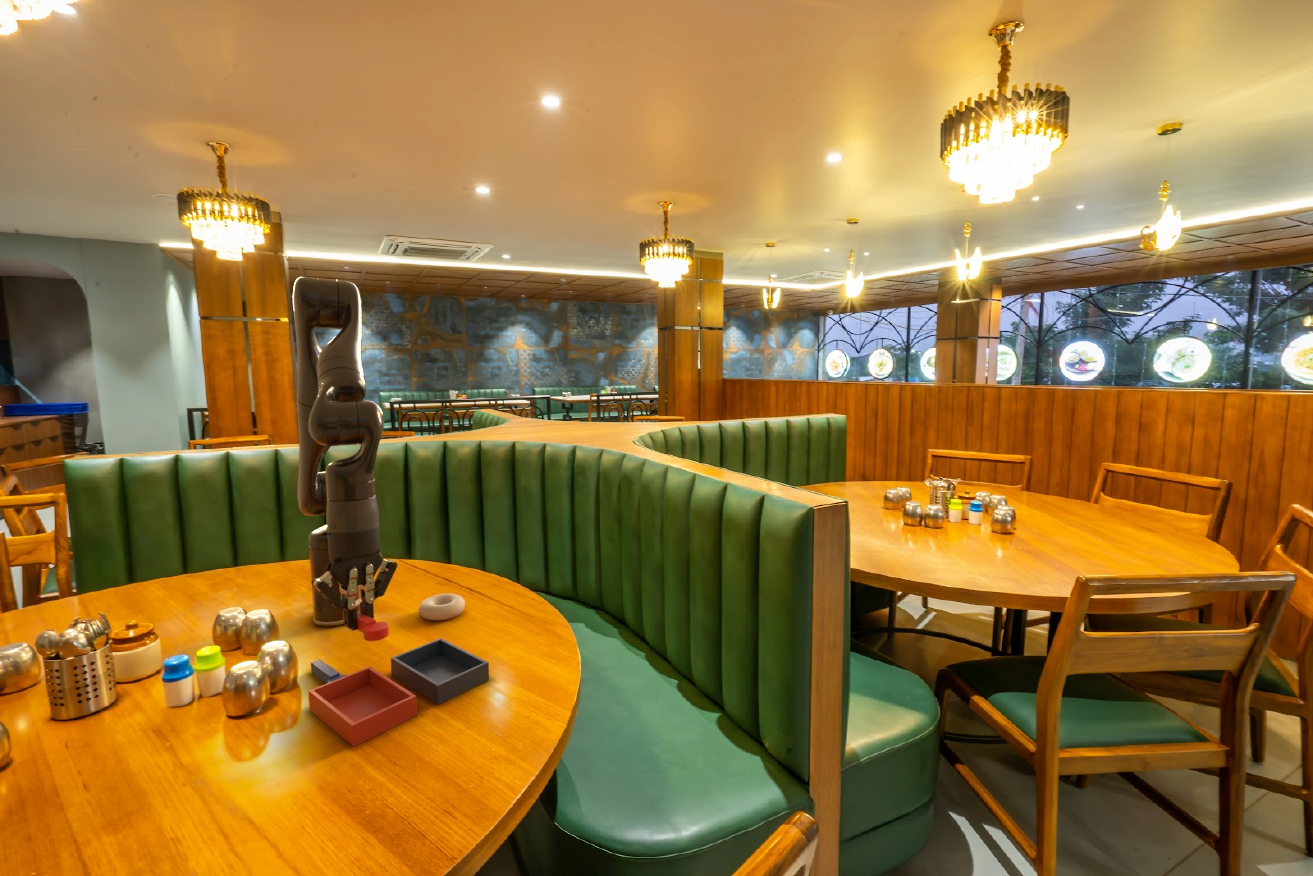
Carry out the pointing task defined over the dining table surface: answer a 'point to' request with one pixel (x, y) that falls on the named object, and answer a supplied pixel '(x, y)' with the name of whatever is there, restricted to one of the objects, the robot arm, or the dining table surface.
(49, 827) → the dining table surface
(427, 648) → the blue tray
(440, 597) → the donut
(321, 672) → the blue spoon
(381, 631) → the red spoon
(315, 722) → the dining table surface
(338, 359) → the robot arm
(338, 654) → the dining table surface
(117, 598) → the dining table surface
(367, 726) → the red tray
